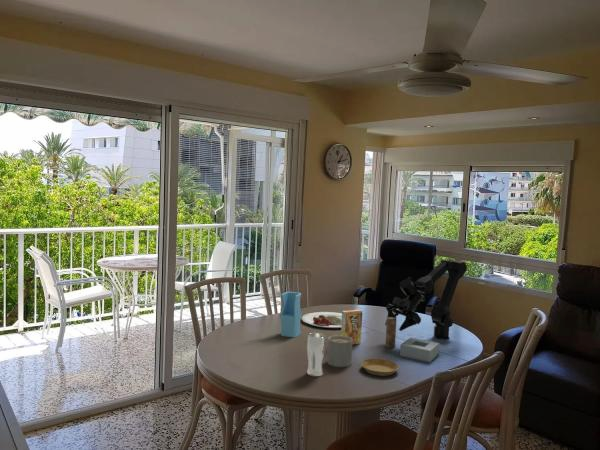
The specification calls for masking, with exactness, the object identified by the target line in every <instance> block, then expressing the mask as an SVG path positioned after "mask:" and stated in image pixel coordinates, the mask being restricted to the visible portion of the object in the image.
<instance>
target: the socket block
mask: <svg viewBox="0 0 600 450" xmlns="http://www.w3.org/2000/svg"><path fill="white" fill-rule="evenodd" d="M399 347H400V350H399V352H400V353H399V356H400V357H404V358H408V359H413V360H416V361H421V362H426V363H431V362H432V361H433V360H434V359H436V357H437V356H438V355H439V354H440V342H436V341H432V340H431V341H430V340H426V339H421V338H416V337H410V338H407V339H406V340H405V341H404V342H402V343H400V346H399Z"/></svg>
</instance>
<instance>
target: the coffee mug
mask: <svg viewBox="0 0 600 450" xmlns="http://www.w3.org/2000/svg"><path fill="white" fill-rule="evenodd" d="M352 342H353V340H352V338H350V337H348V336H342V335H341V334H339V335H334V334H333V335H330V336H329V337H328V338H327V354H326V355H327V358H326V363H327V364H328V365H329V366H331V367H336V368H347V367H350V366H351V365H352V361H353V360H352V359H353V344H352Z"/></svg>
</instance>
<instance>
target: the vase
mask: <svg viewBox="0 0 600 450" xmlns="http://www.w3.org/2000/svg"><path fill="white" fill-rule="evenodd" d="M280 297H281V300H282V308H281V313H280V315H279V316H280V318H279V319H280V323H281V331H280V332H281V333H280V336H281V337H288V338H296V337H298V336H299V335H301V334H302V331H301V320H302V316H303V315H302V314H303V313H302V310H301V306H300V303H301V301H300V300H301V297H302V293H301V292H295V291H286V292H283V293H281V295H280Z"/></svg>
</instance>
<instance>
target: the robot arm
mask: <svg viewBox="0 0 600 450" xmlns="http://www.w3.org/2000/svg"><path fill="white" fill-rule="evenodd" d="M467 269H468V266H467V263H466V262H464V261H460V260H456V259H455V260H447V259H442V260H441V261H440V263H439V264H437V265H436V266H435V267H434V268H433V269H432V270H431V271H430V272H428V274H427V275H426V276H422V277H420V278H418V279H417V280H416V281H414V279H413V278H412V277H410V276H409V277H406V278H405V279H402V280H401V281H400V282H399V288H400V289H401V291H402V292H403V294H405V296H407V297H403V298H401V297H398V296H394V298H393V301H392V302H391V303H392V304H391V303H387V304H386V306H385V309H386V311H387V317H386V320H385V324H384V325H385V326H386V322H387V318H388V317H393V318H396V319H397V316H399V315H401V316H403V317H405V319H404V321H402V323H401V325H400V327H399V329H398V331H399V332H402V331H405V330H406V329H407V328H410V327H413V326H417V325H419V324H421V321H422V318H421V316H420V315H419V313H418V312H417V310H418V309H417V306H418V305H419V304H420V302H426V300H425V299H426V298H425V295H424V294H426V295H427V294H430V293H431V291H432V290H433V289H434V286H435V283H436V282H437V281H438V280H439V279H440V278H441V277H442V276H444V275H445V274H446V273H447V274H448V277H447V281H446V283H445V286H444V287H443V288H444V289H443V291H442V295H441V297H440V300H439V302H438V303H437V304H433V306H432V309H431V311H430V313H431V314H430V317H431V320H432V321H431V322H432V324H434V326H433V336H434V337H435V339H445V340H446V339H447V340H448V339H449V340H450V328H451V327H453V325H454V321H453V320H452V318H451V310H450V307H451V306H450V305H451V303H452V300H453V297H454V294H455V293H456V292H455V291H456V289H457V286H458V282H459V280H460V279H462V278H463V277H464V276H465V274H466V271H467Z"/></svg>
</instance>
